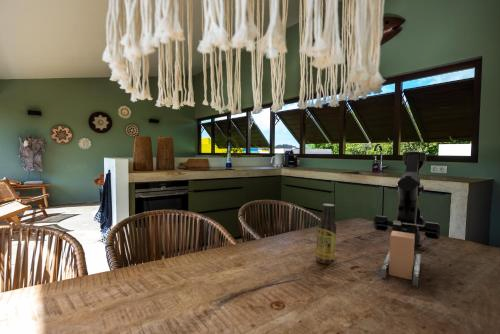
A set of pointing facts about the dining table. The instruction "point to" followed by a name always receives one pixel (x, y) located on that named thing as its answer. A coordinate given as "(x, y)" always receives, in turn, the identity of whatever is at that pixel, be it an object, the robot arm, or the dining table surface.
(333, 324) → the dining table surface
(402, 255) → the terracotta block
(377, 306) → the dining table surface
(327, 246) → the sauce bottle
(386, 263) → the chute
